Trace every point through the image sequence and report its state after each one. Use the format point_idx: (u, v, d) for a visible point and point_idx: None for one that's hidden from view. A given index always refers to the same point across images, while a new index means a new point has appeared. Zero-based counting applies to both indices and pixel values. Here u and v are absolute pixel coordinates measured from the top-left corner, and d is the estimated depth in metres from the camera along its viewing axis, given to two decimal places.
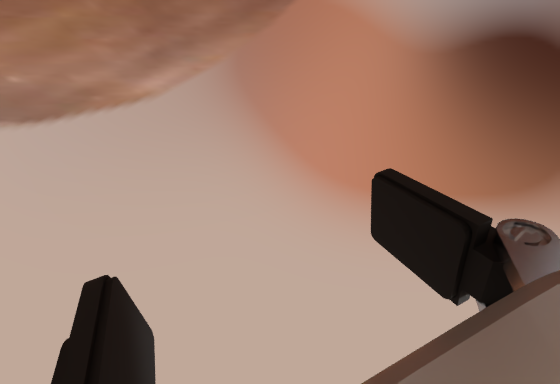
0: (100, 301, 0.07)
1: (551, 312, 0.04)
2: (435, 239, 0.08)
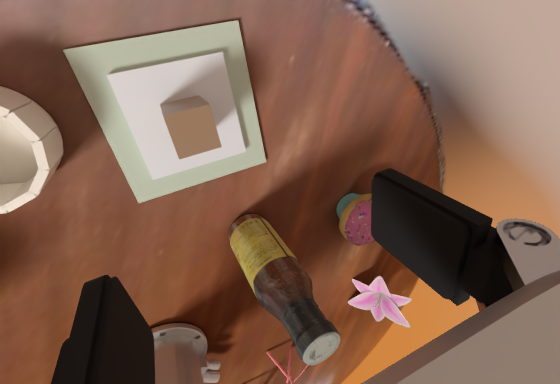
0: (100, 301, 0.07)
1: (551, 312, 0.04)
2: (435, 239, 0.08)
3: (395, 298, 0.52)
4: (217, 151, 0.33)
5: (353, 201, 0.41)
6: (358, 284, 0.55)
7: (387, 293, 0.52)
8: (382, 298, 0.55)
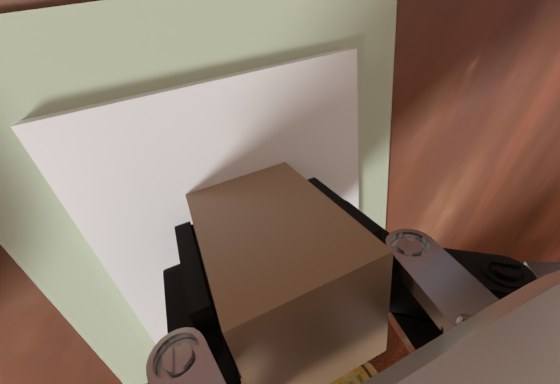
0: (193, 237, 0.09)
1: (551, 312, 0.04)
2: None
3: None
4: None
5: None
6: None
7: None
8: None
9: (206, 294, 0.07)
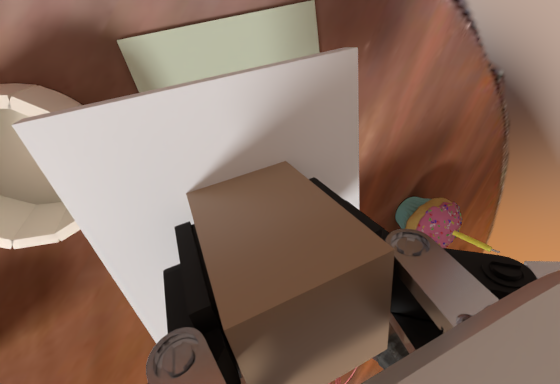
0: (193, 237, 0.09)
1: (551, 312, 0.04)
2: None
3: None
4: None
5: (422, 207, 0.36)
6: None
7: None
8: None
9: (206, 294, 0.07)
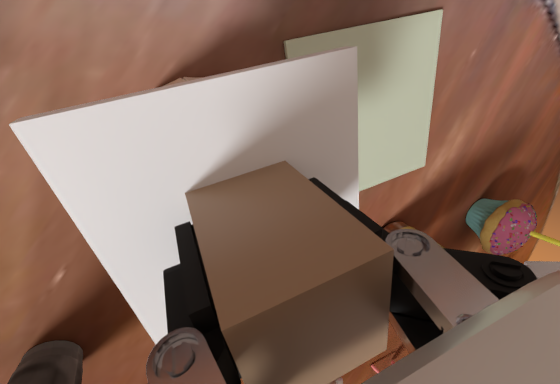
0: (193, 237, 0.09)
1: (551, 312, 0.04)
2: None
3: None
4: None
5: (501, 208, 0.38)
6: None
7: None
8: None
9: (206, 294, 0.07)
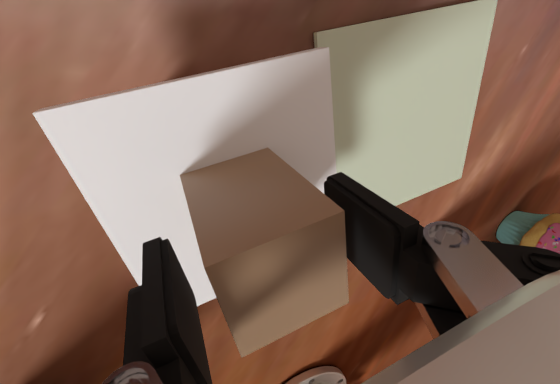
0: (161, 255, 0.08)
1: (551, 312, 0.04)
2: (373, 241, 0.09)
3: None
4: None
5: (541, 223, 0.34)
6: None
7: None
8: None
9: (163, 323, 0.06)
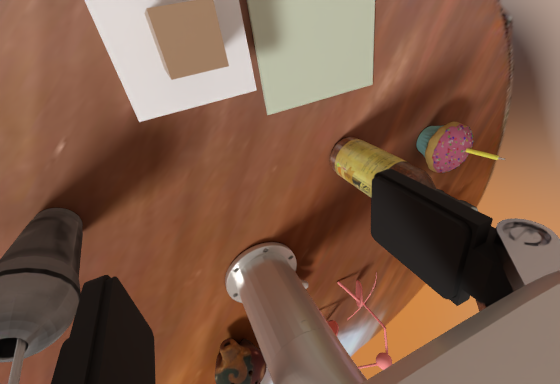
0: (100, 301, 0.07)
1: (551, 312, 0.04)
2: (435, 239, 0.08)
3: None
4: (221, 87, 0.26)
5: (442, 128, 0.44)
6: None
7: None
8: None
9: None
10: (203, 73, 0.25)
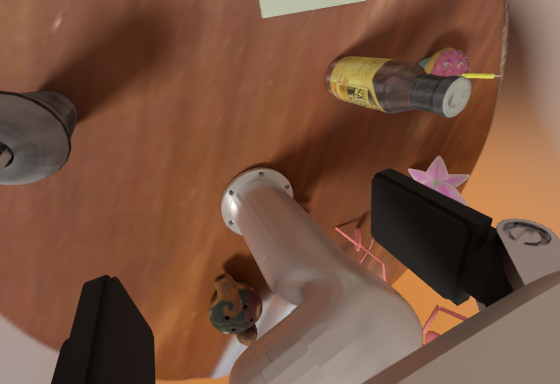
0: (100, 301, 0.07)
1: (551, 312, 0.04)
2: (435, 239, 0.08)
3: (452, 179, 0.56)
4: None
5: (437, 52, 0.44)
6: (414, 173, 0.59)
7: (445, 174, 0.55)
8: (437, 186, 0.59)
9: None
10: None
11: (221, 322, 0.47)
